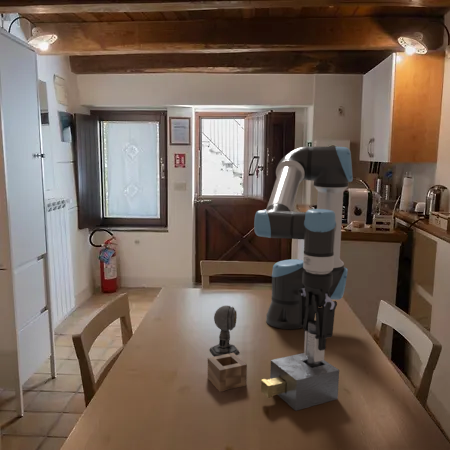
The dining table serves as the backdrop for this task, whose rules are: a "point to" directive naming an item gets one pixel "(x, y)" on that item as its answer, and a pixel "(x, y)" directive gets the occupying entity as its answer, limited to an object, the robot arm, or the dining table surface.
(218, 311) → the figurine
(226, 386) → the open box
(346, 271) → the robot arm
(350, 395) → the dining table surface
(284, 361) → the socket
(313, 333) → the steel round rod
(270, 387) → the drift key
